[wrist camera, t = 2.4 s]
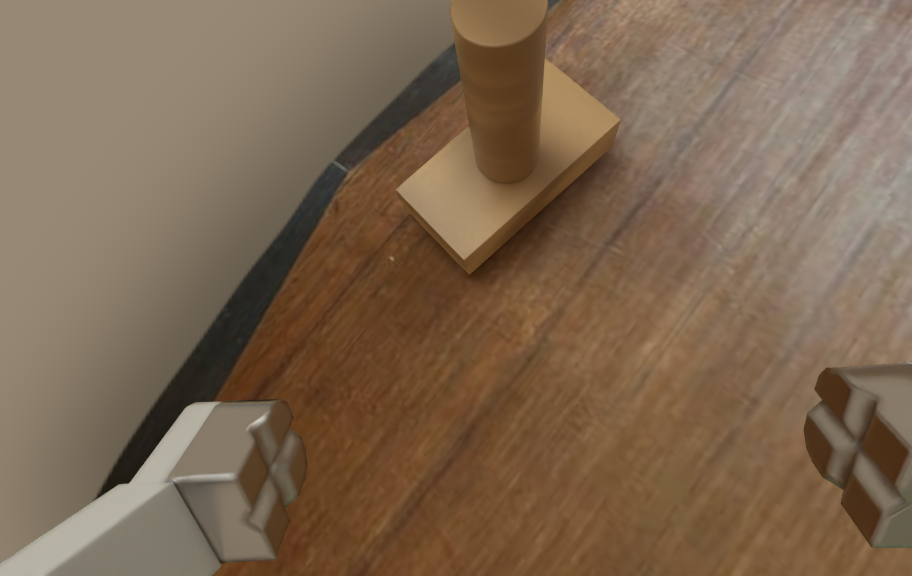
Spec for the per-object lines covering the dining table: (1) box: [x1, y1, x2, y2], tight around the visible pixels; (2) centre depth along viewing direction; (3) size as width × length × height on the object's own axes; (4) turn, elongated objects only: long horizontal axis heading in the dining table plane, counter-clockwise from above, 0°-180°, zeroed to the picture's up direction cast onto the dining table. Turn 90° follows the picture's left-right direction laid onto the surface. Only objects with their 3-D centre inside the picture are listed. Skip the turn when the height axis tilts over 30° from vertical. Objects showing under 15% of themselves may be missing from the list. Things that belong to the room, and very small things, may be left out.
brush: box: [396, 0, 621, 275], centre depth 21 cm, size 10×5×12 cm, turn 132°
